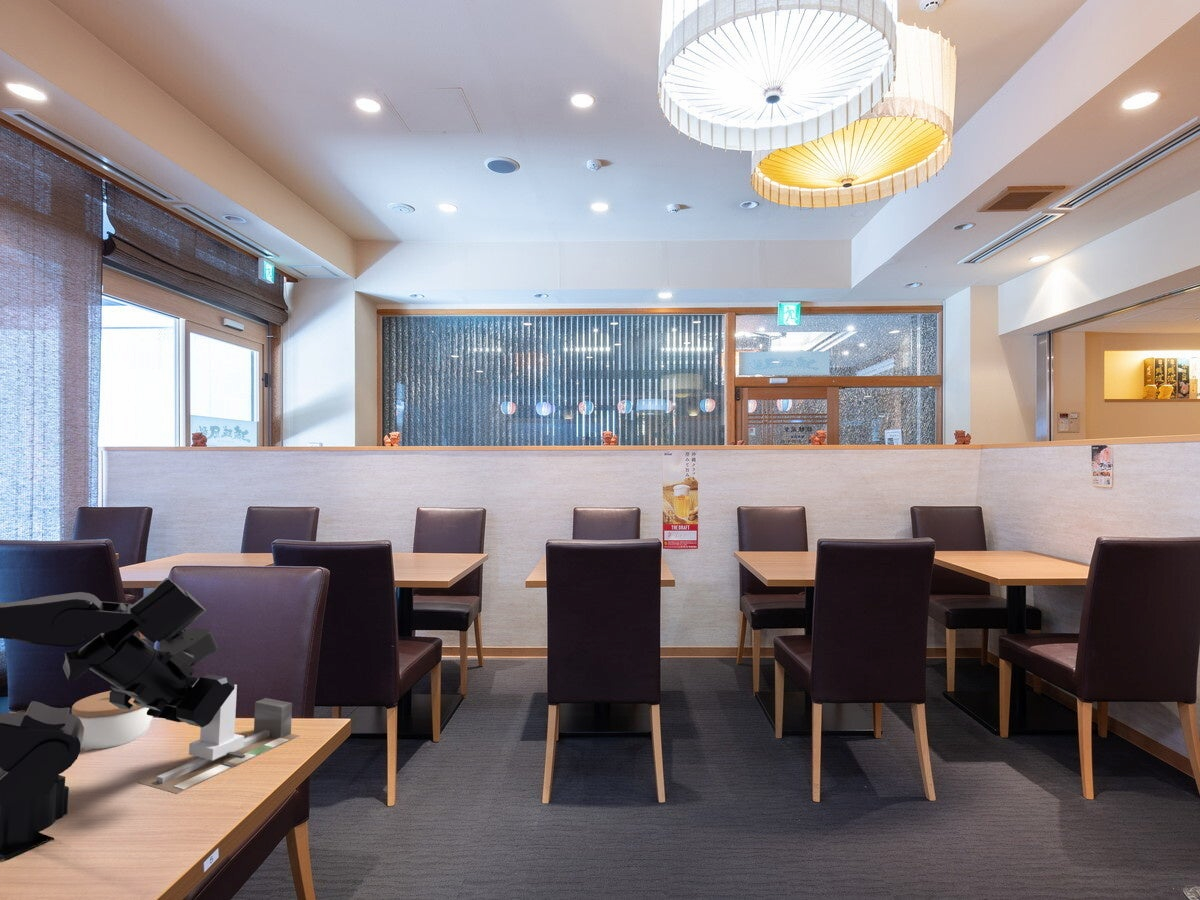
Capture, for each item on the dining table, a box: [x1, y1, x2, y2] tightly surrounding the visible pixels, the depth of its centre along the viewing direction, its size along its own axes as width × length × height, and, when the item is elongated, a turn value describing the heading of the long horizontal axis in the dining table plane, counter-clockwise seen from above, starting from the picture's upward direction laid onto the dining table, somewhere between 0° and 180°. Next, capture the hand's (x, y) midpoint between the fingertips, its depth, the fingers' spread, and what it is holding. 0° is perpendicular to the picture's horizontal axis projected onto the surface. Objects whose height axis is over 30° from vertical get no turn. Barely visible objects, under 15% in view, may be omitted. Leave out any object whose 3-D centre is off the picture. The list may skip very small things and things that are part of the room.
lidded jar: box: [71, 690, 154, 752], centre depth 97 cm, size 11×11×9 cm
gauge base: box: [137, 697, 300, 795], centre depth 91 cm, size 20×8×6 cm, turn 159°
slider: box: [188, 684, 245, 760], centre depth 90 cm, size 5×8×10 cm, turn 69°
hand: (209, 720), depth 89 cm, fingers closed, pressing on slider
